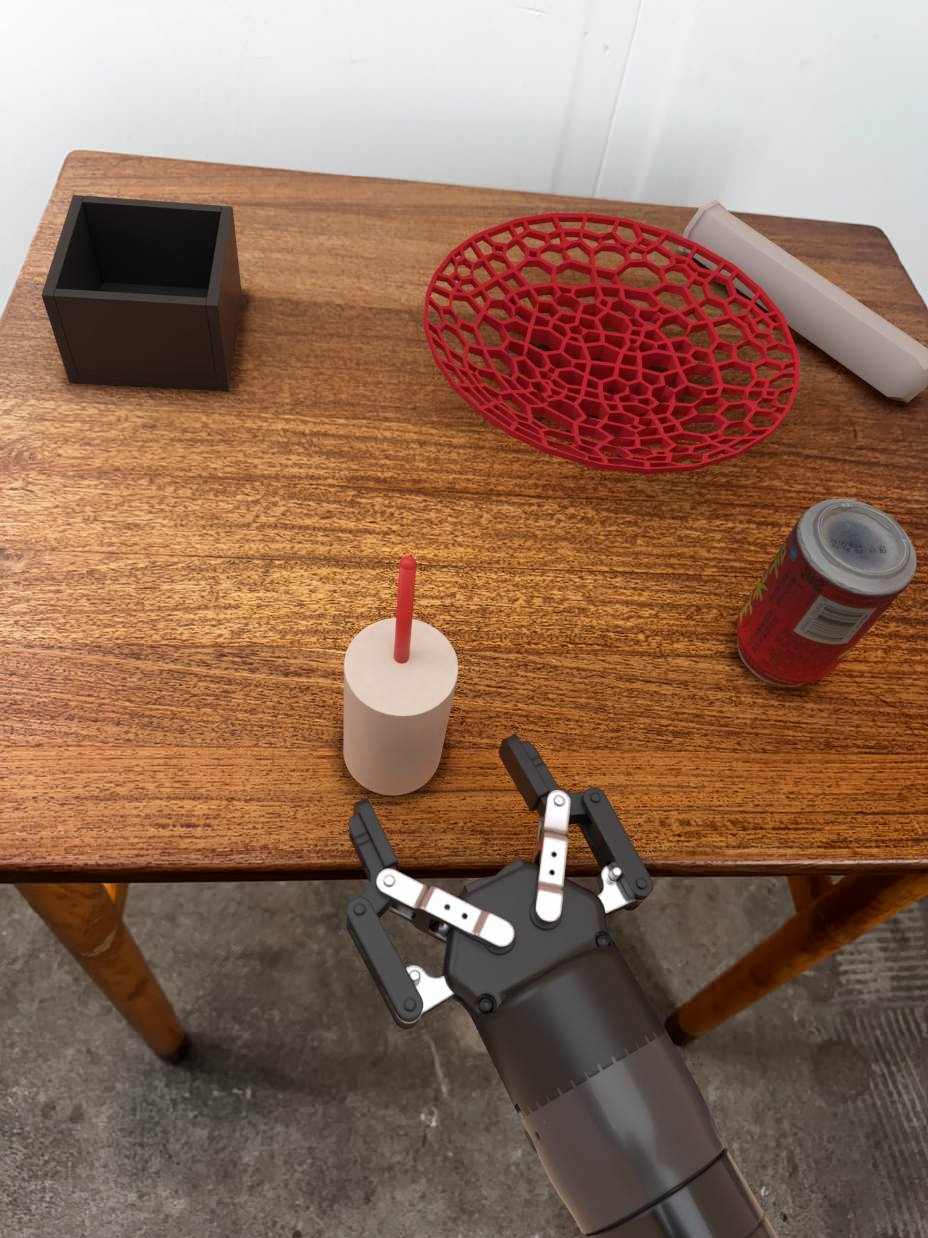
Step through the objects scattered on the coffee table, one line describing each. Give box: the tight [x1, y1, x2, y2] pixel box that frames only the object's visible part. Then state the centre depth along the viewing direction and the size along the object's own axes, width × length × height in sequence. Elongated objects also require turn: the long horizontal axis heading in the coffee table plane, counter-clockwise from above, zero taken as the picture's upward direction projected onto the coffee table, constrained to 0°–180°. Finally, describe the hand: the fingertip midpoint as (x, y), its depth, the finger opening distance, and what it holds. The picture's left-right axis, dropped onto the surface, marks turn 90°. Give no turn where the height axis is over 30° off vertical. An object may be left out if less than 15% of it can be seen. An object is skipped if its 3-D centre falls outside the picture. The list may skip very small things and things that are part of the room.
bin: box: [40, 194, 243, 392], centre depth 69 cm, size 12×12×8 cm
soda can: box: [736, 498, 918, 688], centre depth 57 cm, size 7×7×12 cm
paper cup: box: [342, 555, 459, 796], centre depth 48 cm, size 6×6×16 cm
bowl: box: [422, 212, 801, 475], centre depth 73 cm, size 30×30×5 cm
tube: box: [677, 199, 928, 403], centre depth 80 cm, size 5×5×25 cm
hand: (434, 773), depth 48 cm, fingers open, 8 cm apart
